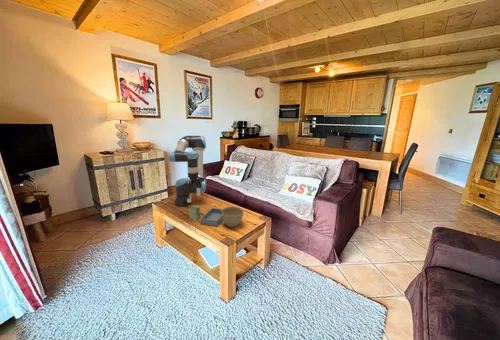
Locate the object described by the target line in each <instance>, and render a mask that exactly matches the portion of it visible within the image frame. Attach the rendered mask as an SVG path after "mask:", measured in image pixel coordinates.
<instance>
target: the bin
mask: <svg viewBox="0 0 500 340" xmlns="http://www.w3.org/2000/svg"><path fill="white" fill-rule="evenodd" d="M223 209H224V208H223ZM223 209H222V208H215V207H211V208H210V209H209V210H208V211H207V212H206V213H204V214H203V215H202V216H200V218H199V219H200V225H205V226H211V227H217V228H218V226H219V225H221V223H222V222H224V220H223V217H222V210H223Z"/></svg>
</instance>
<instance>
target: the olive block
mask: <svg viewBox="0 0 500 340" xmlns="http://www.w3.org/2000/svg"><path fill="white" fill-rule="evenodd" d="M188 213H189V214H188V217H189V221H195V222H197V221H199V219H200V218H201V206H200V205H196V204H191V205H190V207H189V208H188Z"/></svg>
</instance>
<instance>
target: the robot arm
mask: <svg viewBox="0 0 500 340" xmlns="http://www.w3.org/2000/svg"><path fill="white" fill-rule="evenodd" d="M206 144H207V142H206V137H205V136H204V135H185V136H182V137H181V138H179V140H178V141H177V145H176V147H175V149H174V150H173V151H169V153H168V161H169V162H171V163H187V177H184V178H179V179H176V181H175V199H174V206H175V207H177V208H178V207H180V208H183V207H189V206H192V205H193V200H192V194H196V196H197V197H201V193H205V191H206V187H207V179H206V178H205V176H204V152H205V149H207V145H206ZM186 149H191V151H190V150H189V151H186Z"/></svg>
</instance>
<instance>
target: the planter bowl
mask: <svg viewBox="0 0 500 340" xmlns="http://www.w3.org/2000/svg"><path fill="white" fill-rule="evenodd" d="M222 217H223V222H224V223H225V225H226V226H227V227H229V228H234V227H235V228H236V227H238V226H239V224H240V223H241V221H242V219H243V217H244V210H243V209H242V208H241V207H238V206H227V207H224V208H223V210H222Z"/></svg>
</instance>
